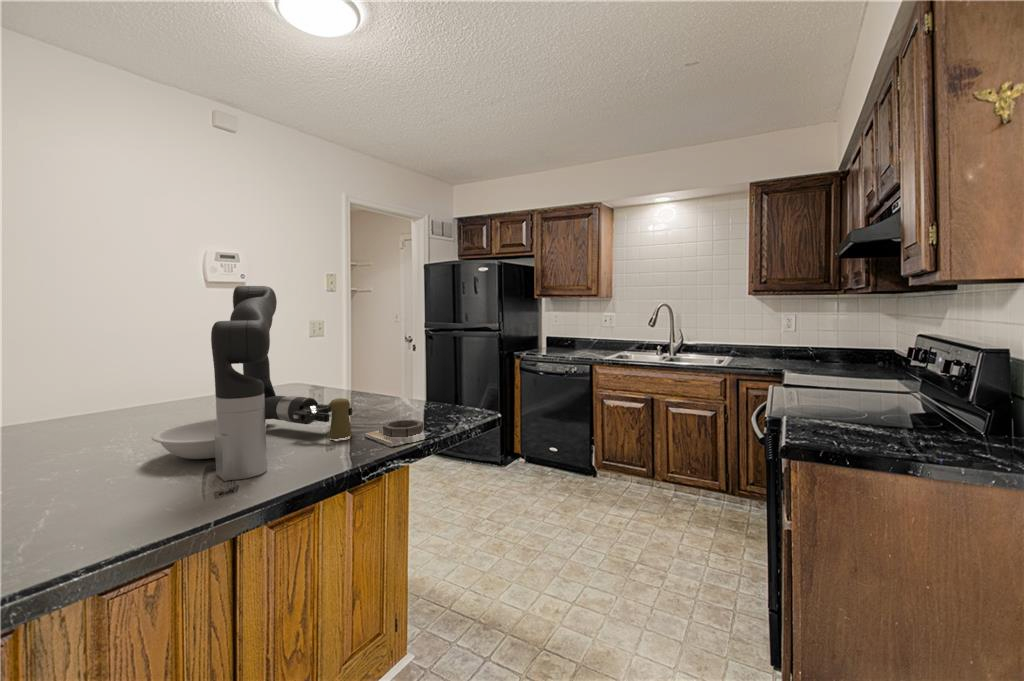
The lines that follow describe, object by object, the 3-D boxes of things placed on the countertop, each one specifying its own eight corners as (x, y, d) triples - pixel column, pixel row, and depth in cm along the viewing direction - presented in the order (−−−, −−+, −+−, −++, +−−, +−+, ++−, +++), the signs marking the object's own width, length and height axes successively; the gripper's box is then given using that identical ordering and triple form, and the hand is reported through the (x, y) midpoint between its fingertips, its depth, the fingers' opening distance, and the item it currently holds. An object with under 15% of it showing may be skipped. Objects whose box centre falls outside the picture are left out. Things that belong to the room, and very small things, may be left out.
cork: (347, 441, 133) (346, 401, 132) (325, 441, 133) (324, 401, 132) (355, 435, 139) (354, 396, 138) (334, 435, 139) (333, 396, 138)
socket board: (391, 447, 127) (391, 433, 126) (364, 437, 136) (364, 424, 136) (442, 436, 138) (441, 423, 138) (413, 427, 148) (413, 415, 147)
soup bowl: (217, 474, 107) (215, 444, 106) (125, 467, 112) (124, 439, 111) (288, 444, 130) (287, 419, 130) (210, 439, 135) (209, 416, 135)
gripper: (276, 401, 135) (319, 406, 129) (316, 392, 148) (358, 396, 141) (277, 428, 136) (320, 434, 129) (317, 417, 149) (359, 422, 142)
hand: (340, 414), depth 135 cm, fingers open, 8 cm apart
